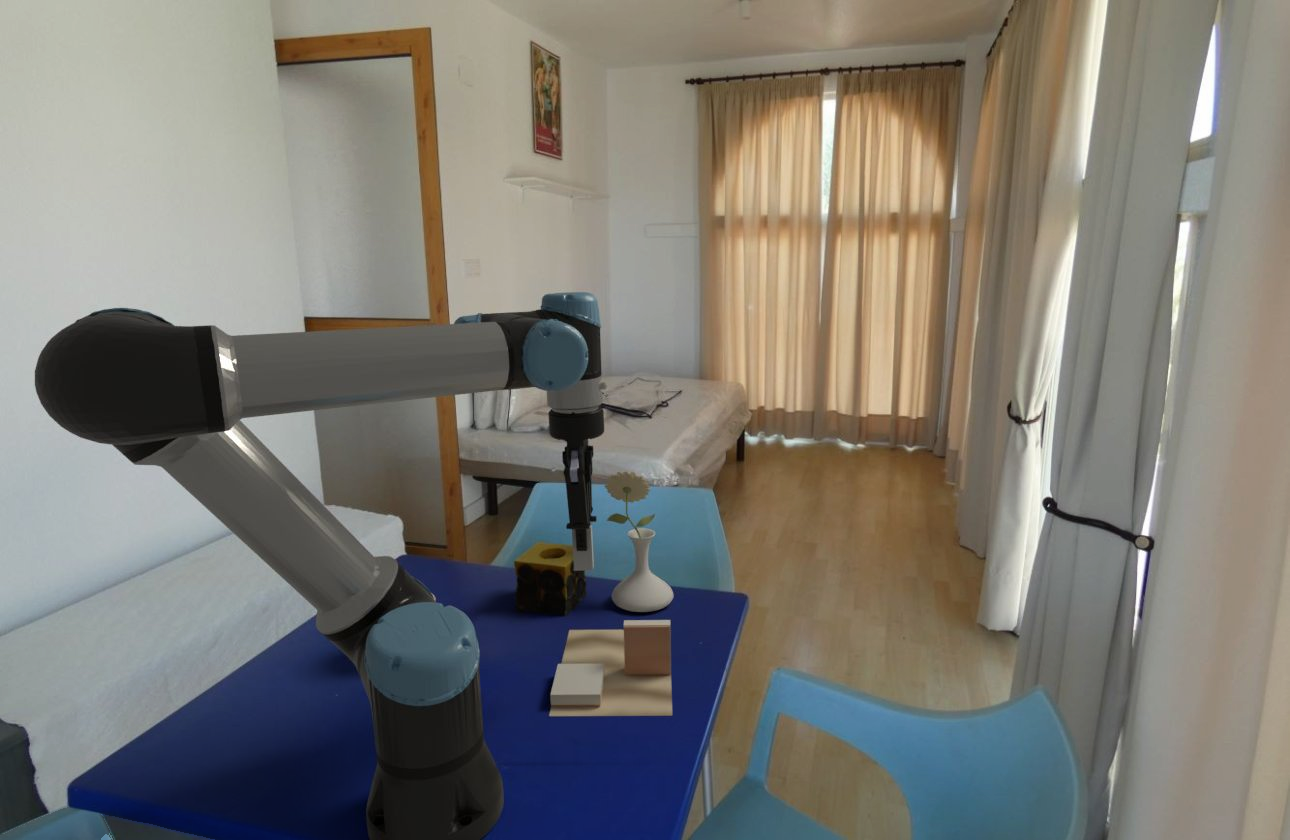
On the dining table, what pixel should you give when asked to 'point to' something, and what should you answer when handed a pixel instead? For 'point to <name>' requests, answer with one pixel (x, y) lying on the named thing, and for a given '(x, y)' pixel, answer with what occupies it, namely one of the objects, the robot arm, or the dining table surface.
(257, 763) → the dining table surface
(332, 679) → the dining table surface
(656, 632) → the tile
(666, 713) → the board
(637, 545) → the flower in vase
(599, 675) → the tile
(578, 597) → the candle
